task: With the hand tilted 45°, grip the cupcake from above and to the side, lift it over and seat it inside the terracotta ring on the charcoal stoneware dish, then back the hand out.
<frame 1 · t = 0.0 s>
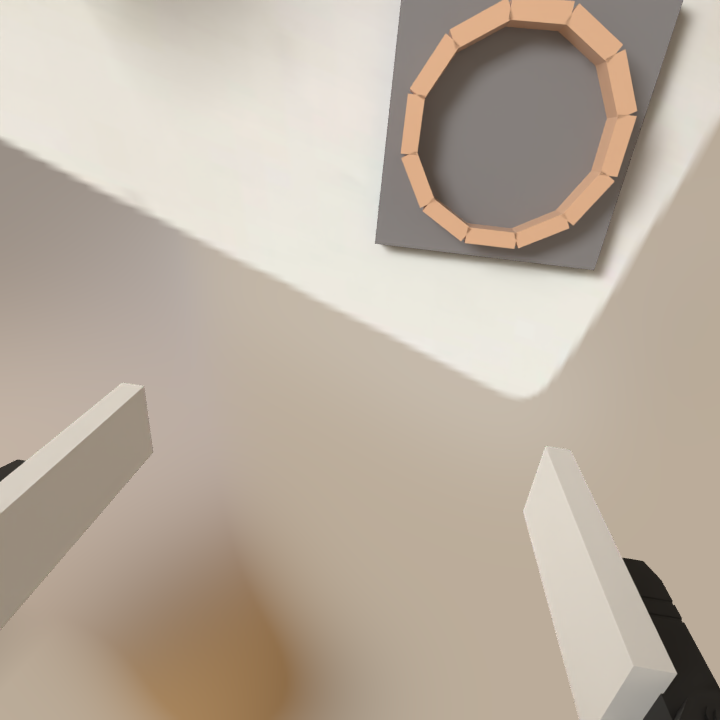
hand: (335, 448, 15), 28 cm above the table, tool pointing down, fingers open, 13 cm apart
ring dish: (505, 135, 35), on the table
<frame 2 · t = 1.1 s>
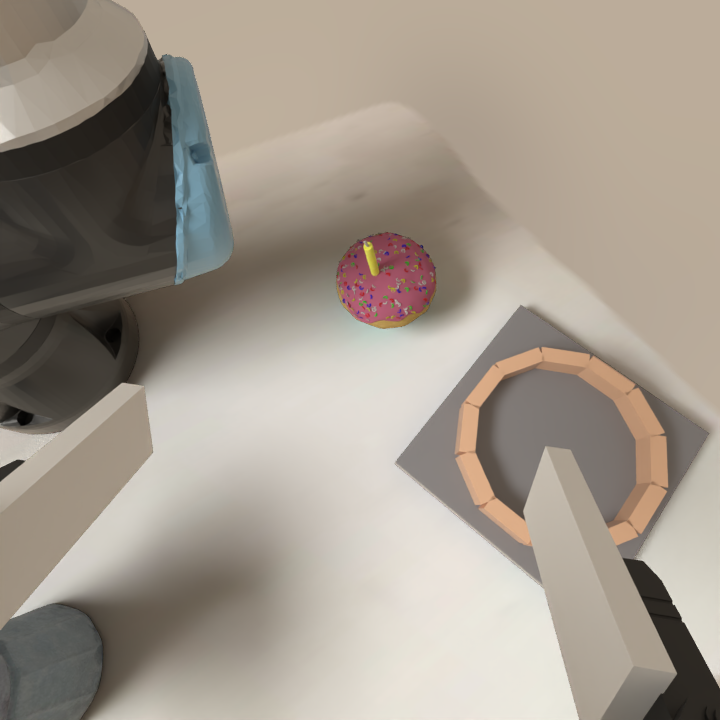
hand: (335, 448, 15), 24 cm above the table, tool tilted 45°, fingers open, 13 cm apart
moka pot: (53, 671, 34), on the table
ring dish: (545, 450, 38), on the table
cupcake: (384, 303, 43), on the table
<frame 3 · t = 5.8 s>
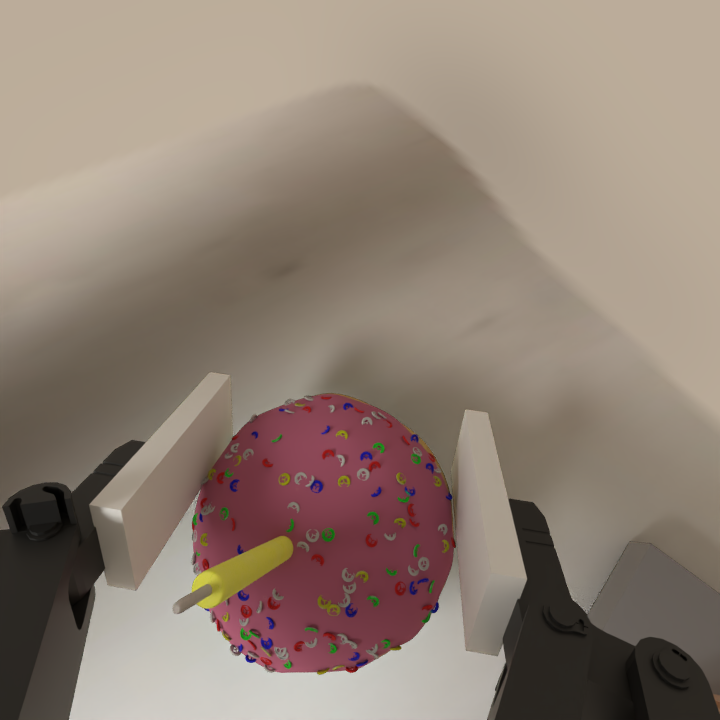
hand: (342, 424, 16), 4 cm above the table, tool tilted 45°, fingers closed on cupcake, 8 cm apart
cupcake: (334, 520, 19), on the table, touching gripper
when the fingers open (7 cm above the table, at t = 11.4 s): cupcake drops 1 cm, resting on ring dish.
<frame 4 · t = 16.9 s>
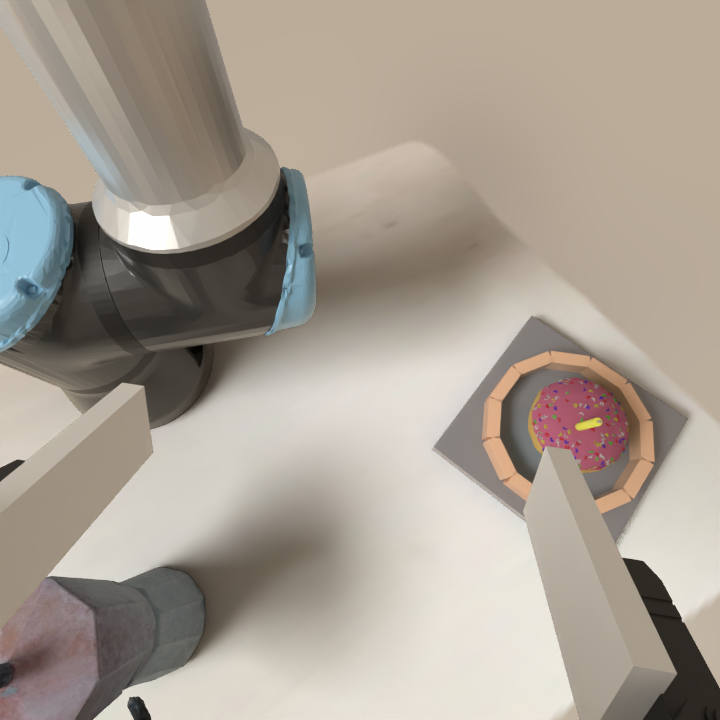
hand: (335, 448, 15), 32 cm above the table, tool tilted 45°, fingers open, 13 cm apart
moka pot: (164, 620, 42), on the table
ring dish: (555, 435, 46), on the table
cupcake: (556, 433, 45), point 1 cm above the table, touching ring dish
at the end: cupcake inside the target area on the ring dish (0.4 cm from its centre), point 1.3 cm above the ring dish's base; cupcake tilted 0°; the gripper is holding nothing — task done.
